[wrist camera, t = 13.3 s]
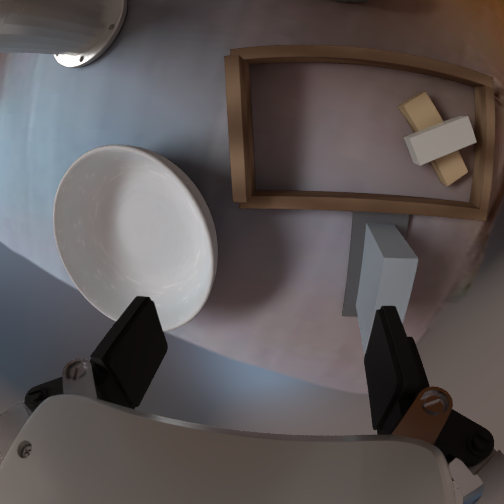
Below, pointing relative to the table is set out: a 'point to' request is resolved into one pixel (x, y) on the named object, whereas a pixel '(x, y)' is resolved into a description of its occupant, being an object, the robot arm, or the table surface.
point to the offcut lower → (425, 115)
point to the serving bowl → (135, 233)
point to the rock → (352, 0)
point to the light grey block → (384, 275)
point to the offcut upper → (440, 139)
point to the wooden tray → (345, 201)
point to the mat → (358, 248)
